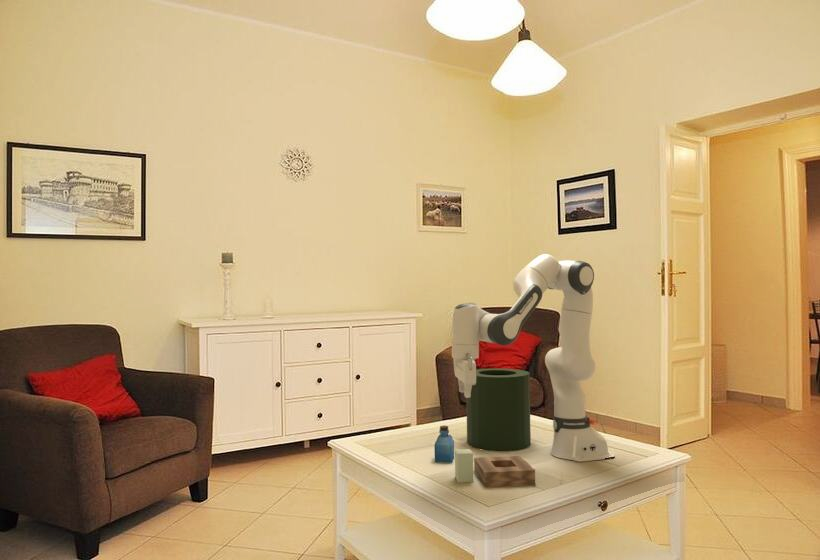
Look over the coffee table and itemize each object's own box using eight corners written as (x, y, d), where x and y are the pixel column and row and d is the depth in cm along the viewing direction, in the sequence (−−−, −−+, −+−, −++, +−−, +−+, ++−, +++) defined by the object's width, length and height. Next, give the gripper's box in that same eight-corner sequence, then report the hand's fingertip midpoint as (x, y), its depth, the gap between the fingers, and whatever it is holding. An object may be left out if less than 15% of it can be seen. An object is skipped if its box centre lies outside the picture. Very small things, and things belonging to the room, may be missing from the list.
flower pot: (543, 442, 227) (541, 372, 228) (505, 455, 210) (504, 379, 210) (492, 431, 245) (491, 366, 246) (454, 443, 228) (453, 373, 228)
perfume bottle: (451, 462, 202) (451, 428, 202) (434, 462, 203) (434, 428, 203) (454, 457, 208) (453, 424, 208) (437, 457, 209) (436, 424, 209)
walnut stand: (520, 468, 194) (520, 455, 194) (535, 484, 178) (535, 470, 178) (474, 470, 192) (474, 457, 192) (485, 487, 176) (484, 472, 176)
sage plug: (470, 476, 186) (469, 449, 187) (473, 481, 181) (473, 453, 182) (455, 477, 186) (454, 449, 186) (457, 482, 181) (457, 453, 181)
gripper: (481, 355, 177) (480, 400, 176) (468, 349, 197) (468, 389, 197) (461, 355, 176) (460, 400, 176) (450, 349, 197) (450, 389, 196)
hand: (464, 394), depth 186 cm, fingers open, 8 cm apart
